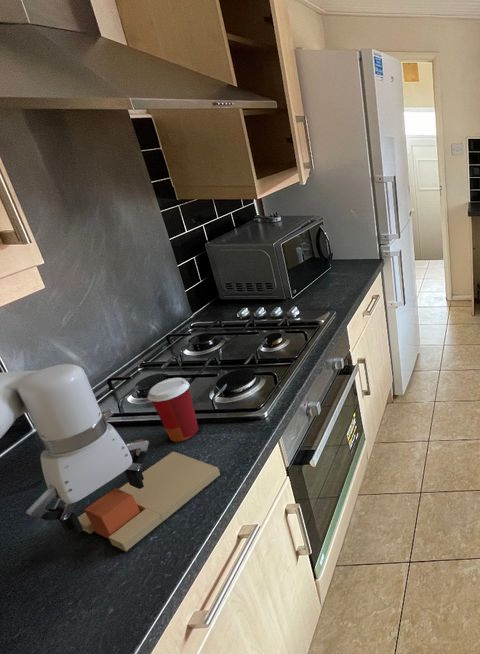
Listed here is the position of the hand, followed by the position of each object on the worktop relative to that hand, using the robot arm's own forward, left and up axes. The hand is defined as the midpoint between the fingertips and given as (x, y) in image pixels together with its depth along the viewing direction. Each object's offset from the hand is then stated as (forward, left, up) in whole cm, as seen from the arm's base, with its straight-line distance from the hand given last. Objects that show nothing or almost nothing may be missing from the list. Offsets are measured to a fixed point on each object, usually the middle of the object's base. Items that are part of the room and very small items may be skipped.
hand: (108, 506), depth 77 cm
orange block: (0, 0, -5) cm, 5 cm away
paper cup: (+21, +13, -5) cm, 25 cm away
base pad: (+6, 0, -5) cm, 8 cm away
